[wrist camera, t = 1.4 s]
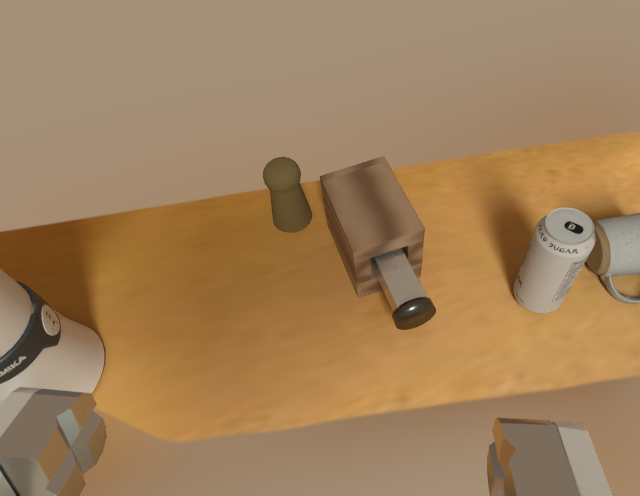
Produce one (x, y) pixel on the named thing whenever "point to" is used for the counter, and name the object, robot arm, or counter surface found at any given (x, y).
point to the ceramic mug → (616, 251)
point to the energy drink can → (554, 259)
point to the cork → (287, 195)
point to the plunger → (402, 290)
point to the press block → (370, 220)
